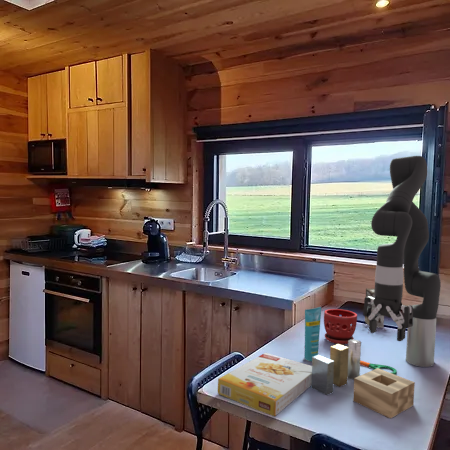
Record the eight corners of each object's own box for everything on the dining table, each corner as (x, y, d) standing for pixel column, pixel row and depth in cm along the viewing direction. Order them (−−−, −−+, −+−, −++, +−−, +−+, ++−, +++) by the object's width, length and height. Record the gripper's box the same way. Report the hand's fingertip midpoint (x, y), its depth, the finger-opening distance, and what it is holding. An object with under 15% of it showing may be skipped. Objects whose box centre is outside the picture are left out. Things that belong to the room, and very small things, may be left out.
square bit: (337, 379, 140) (338, 343, 139) (347, 383, 137) (348, 347, 136) (329, 382, 138) (330, 346, 137) (339, 387, 135) (340, 350, 134)
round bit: (351, 373, 145) (353, 338, 144) (362, 377, 142) (363, 342, 141) (344, 376, 143) (345, 341, 142) (354, 380, 140) (356, 344, 139)
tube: (308, 363, 153) (310, 311, 151) (299, 358, 157) (300, 307, 155) (323, 359, 157) (325, 308, 155) (313, 354, 161) (315, 304, 159)
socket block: (376, 389, 133) (377, 368, 133) (413, 405, 124) (414, 382, 123) (353, 401, 126) (354, 378, 125) (390, 418, 116) (391, 394, 116)
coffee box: (363, 321, 203) (365, 288, 201) (377, 321, 203) (378, 288, 201) (370, 327, 193) (371, 292, 192) (384, 327, 193) (385, 293, 192)
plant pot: (355, 348, 168) (356, 318, 167) (321, 344, 172) (322, 314, 171) (356, 337, 180) (357, 309, 179) (324, 333, 184) (325, 306, 183)
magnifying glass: (399, 372, 147) (399, 367, 147) (393, 378, 143) (393, 373, 143) (356, 360, 157) (356, 356, 157) (349, 365, 152) (350, 361, 152)
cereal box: (216, 378, 128) (264, 350, 151) (216, 396, 128) (263, 365, 151) (276, 400, 116) (318, 365, 139) (275, 419, 117) (317, 382, 140)
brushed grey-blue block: (317, 385, 136) (318, 354, 135) (332, 392, 131) (334, 360, 130) (311, 387, 134) (312, 357, 133) (326, 395, 129) (327, 363, 128)
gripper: (419, 284, 118) (416, 340, 120) (374, 275, 130) (371, 327, 131) (405, 287, 114) (402, 346, 115) (359, 278, 125) (357, 332, 126)
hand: (386, 336), depth 123 cm, fingers open, 8 cm apart
